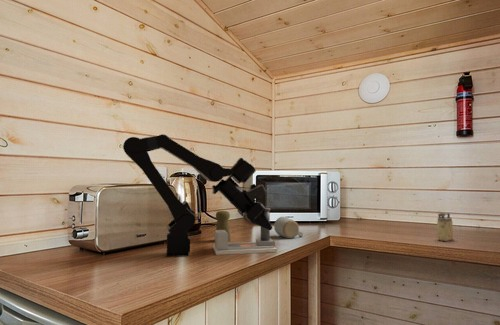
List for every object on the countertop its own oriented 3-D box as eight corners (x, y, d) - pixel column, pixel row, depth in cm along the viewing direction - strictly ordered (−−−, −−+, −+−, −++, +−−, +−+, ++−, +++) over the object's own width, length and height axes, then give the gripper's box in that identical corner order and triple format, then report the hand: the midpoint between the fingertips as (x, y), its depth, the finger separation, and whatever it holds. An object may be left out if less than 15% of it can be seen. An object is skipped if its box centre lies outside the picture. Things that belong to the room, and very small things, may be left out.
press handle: (259, 247, 106) (259, 209, 106) (255, 243, 111) (255, 207, 112) (274, 246, 106) (274, 209, 107) (270, 243, 112) (270, 207, 113)
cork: (228, 242, 119) (228, 211, 120) (212, 242, 121) (212, 211, 121) (232, 239, 125) (232, 210, 126) (217, 239, 127) (217, 210, 127)
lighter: (445, 238, 128) (444, 212, 128) (455, 239, 125) (455, 212, 125) (435, 240, 124) (435, 213, 124) (446, 241, 121) (445, 214, 121)
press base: (216, 254, 101) (216, 234, 101) (213, 247, 110) (213, 229, 111) (276, 252, 104) (276, 232, 105) (268, 245, 114) (268, 228, 114)
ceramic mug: (283, 239, 125) (283, 219, 126) (273, 236, 133) (274, 216, 133) (307, 238, 129) (307, 218, 130) (296, 234, 137) (297, 216, 137)
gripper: (257, 176, 100) (293, 212, 101) (246, 176, 118) (276, 206, 120) (231, 203, 98) (268, 239, 100) (224, 198, 116) (255, 229, 118)
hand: (267, 227), depth 109 cm, fingers open, 9 cm apart
